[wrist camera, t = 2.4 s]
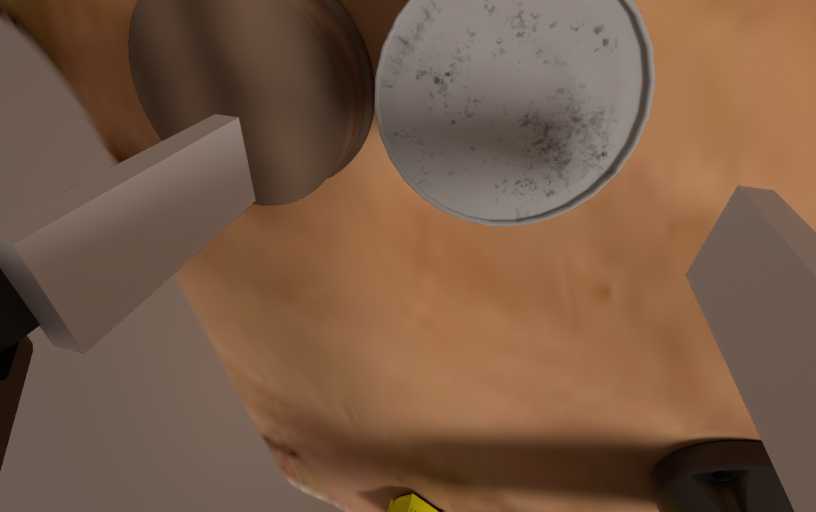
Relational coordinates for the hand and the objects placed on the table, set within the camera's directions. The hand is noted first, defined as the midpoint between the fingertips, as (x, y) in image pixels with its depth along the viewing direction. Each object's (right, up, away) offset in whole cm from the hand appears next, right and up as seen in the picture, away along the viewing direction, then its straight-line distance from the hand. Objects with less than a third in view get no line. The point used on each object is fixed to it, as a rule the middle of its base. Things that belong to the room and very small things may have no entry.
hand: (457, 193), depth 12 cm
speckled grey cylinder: (+5, +10, +13) cm, 17 cm away
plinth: (-11, +10, +18) cm, 23 cm away
